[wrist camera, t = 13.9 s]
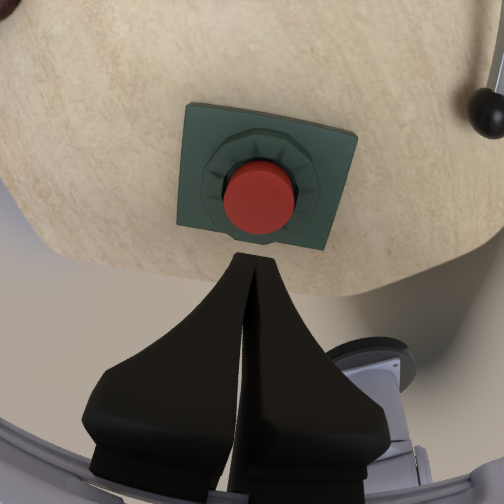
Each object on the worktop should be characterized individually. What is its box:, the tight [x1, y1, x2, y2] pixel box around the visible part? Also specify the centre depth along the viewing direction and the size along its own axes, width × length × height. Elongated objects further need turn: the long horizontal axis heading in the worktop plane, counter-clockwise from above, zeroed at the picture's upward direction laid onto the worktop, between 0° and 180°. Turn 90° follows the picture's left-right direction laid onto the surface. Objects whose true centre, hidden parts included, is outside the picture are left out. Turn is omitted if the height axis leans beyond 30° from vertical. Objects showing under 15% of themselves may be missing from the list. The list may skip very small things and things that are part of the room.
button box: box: [176, 103, 358, 250], centre depth 19 cm, size 10×8×3 cm
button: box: [224, 161, 294, 234], centre depth 17 cm, size 4×4×2 cm
